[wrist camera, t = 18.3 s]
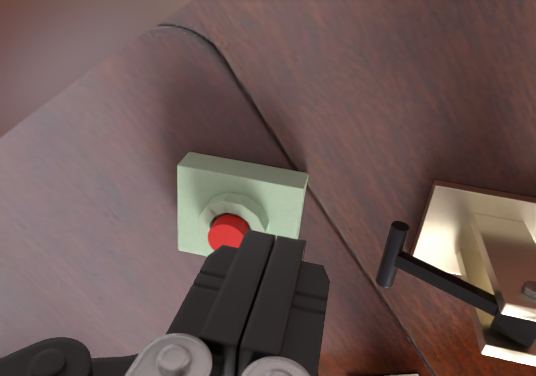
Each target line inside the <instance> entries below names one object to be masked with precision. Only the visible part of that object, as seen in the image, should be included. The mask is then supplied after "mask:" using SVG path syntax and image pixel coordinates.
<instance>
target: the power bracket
mask: <svg viewBox="0 0 536 376" xmlns="http://www.w3.org/2000/svg"><path fill="white" fill-rule="evenodd" d="M410 255H412V256H414V257H416V258H418V259H420V260H422V261H425V262H427V263H429V264H431V265H433V266H435V267H437V268H439V269H441V270H443V271H445V272H449V273H454V274H459V275H461V277H462V280H464V281H466V282H468V283H470V284H472V285H474V286H476V287H478V288H480V289H482V290H484V291H486V292H489V293H491V294H493V295H495V298H496V301H497V304H498V307H499V310H500V312H501V314H504V315H509V316H514V317H519V318H523V319H528V320H533V321H536V198H535V197H529V196H524V195H518V194H513V193H507V192H501V191H496V190H490V189H484V188H479V187H473V186H467V185H462V184H456V183H450V182H445V181H439V180H434V182H433V185H432V188H431V191H430V194H429V197H428V200H427V204H426V207H425V210H424V213H423V216H422V219H421V222H420V225H419V228H418V231H417V235H416V238H415V241H414V244H413V247H412V250H411V253H410ZM468 305H469V309H470V313H471V316H472V320H473V324H474V328H475V332H476V336H477V340H478V344H479V348H480V351H481V354H484V355H489V356H493V357H498V358H502V359H506V360H511V361H515V362H520V363H524V364H529V365H533V366H536V340H535V342H534V343H533V345H532V347H531V348H528V347H526V346H524V345H522V344H520V343H518V342H517V341H515V340H513V339H511V338H509V337H507V336H505V335H503V334H501V333H499V332H497V331H495V330H494V329H492V328H490V325H491V323H492V321H493V319H494V317H495V316H492V315H490V314H488V313H486V312H484V311H482V310H480V309H478V308H476V307H474V306H472V305H470V304H468Z"/></svg>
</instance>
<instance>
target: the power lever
mask: <svg viewBox="0 0 536 376" xmlns="http://www.w3.org/2000/svg"><path fill="white" fill-rule="evenodd" d="M409 229H410V228H409V226H408V225H407V224H406V223H404V222H401V221H394V222H393V223H392V224H391V228H390V231H389V235H388V238H387V242H386V245H385V249H384V252H383V256H382V259H381V263H380V266H379V270H378V273H377V277H376V282H377V284H378V285H380V286H381V287H385V288H388V287H391V286H392V284H393V281H394V278H395V274H396V271H397V268H400V269H401V270H403V271H405V272H407V273H409V274H411V275H413V276H415V277H417V278H419V279H421V280H423V281H425V282H427V283H429V284H431V285H433V286H435V287H437V288H439V289H441V290H443V291H445V292H447V293H449V294H451V295H453V296H455V297H457V298H459V299H461V300H463V301H464V302H466V303H468V304H470V305H472V306H474V307H476V308H478V309H480V310H482V311H484V312H486V313H488V314H490V315H492V316H495V317H494V319H493V321H492V323H491V325H490V328H492V329H494V330H495V331H497V332H499V333H501V334H503V335H505V336H507V337H509V338H511V339H513V340H515V341H517V342H518V343H520V344H522V345H524V346H526V347H528V348H531V347H532V345H533V343H534V342H535V340H536V321H533V320H528V319H523V318H519V317H514V316H509V315H504V314H501V312H500V310H499V307H498V304H497V301H496V298H495V295H493V294H491V293H489V292H486V291H484V290H482V289H480V288H478V287H476V286H474V285H472V284H470V283H468V282H466V281H464V280H462V279H460V278H458V277H456V276H453V275H451V274H449V273H447V272H445V271H443V270H441V269H439V268H437V267H435V266H433V265H431V264H429V263H427V262H425V261H422V260H420V259H418V258H416V257H414V256H412V255H410V254H408V253H406V252H404V251H403V249H404V245H405V242H406V239H407V236H408V233H409Z"/></svg>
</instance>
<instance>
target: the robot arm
mask: <svg viewBox="0 0 536 376" xmlns="http://www.w3.org/2000/svg"><path fill="white" fill-rule="evenodd" d="M305 246H306V241H303V240H298V239H293V238H289V237H284V236H279V235H278V236H277V238H276V235H273V234H268V233H263V232H258V231H253V230H249V229H247V231H246V232H245V235H244V237H243V239H242V241H241V243H240V246H239V248H236V247H231V246H227V245H222V246H220V247H219V248H218V249H216V250H215V251H214V252H212V253H211V254H210V255H208V257H207V259H206V260H205V262H204V264H203V266H202V268H201V270H200V273H198V275H197V277H196V279H195V281H194V284H193V286H192V287H191V288H190V290H189V292H188V294H187V296H186V298H185V300H184V301H183V303H182V305H181V307H180V309H179V311H178V313H177V315H176V316H175V318H174V320H173V322H172V324H171V326H170V328H169V330H168V331H167V333H166V334H165V335H163V336H160V337H158V338H156V339H154V340H153V341H151V342H150V343H148V344H147V345H146V346H145V347H144V348H143V349H142V351H141V352H140V353H139V354H136V355H131V356H125V357H109V358H91V356H90V353H89V350H88V349H87V347H86V346H85V345H84V344H83V343H81V342H79V341H78V340H75V339H72V338H66V337H57V338H50V339H46V340H43V341H40V342H37V343H35V344H33V345H30V346H28V347H26V348H23V349H21V350H19V351H16V352H14V353H12V354H10V355H7V356H5V357H3V358H0V376H318V365H319V358H320V351H321V343H322V336H323V328H324V321H325V313H326V306H327V299H328V291H329V284H330V281H329V278H328V276H327V274H326V271H325V269H324V266H323V265H318V264H313V263H308V262H304V261H303V258H304V252H305Z"/></svg>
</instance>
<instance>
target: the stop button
mask: <svg viewBox="0 0 536 376" xmlns="http://www.w3.org/2000/svg"><path fill="white" fill-rule="evenodd" d="M247 229H249V226H248V225H247V223H246V222H245V221H244V220H243V219H242V218H240V217H238V216H236V215H232V214H225V215H222V216H220V217H218V218H217V219H216V220H215V222H214V223H213V225H212V227H211V229H210V230H209V232H208V242H209V244H210V246H211V248H212V249H213V250H214V251H215V250H216V249H218V248H219V247H220V246H222V245H227V246H231V247H236V248H239V246H240V243H241V241H242V239H243V237H244V235H245V232H246V231H247ZM249 230H250V229H249Z"/></svg>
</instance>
